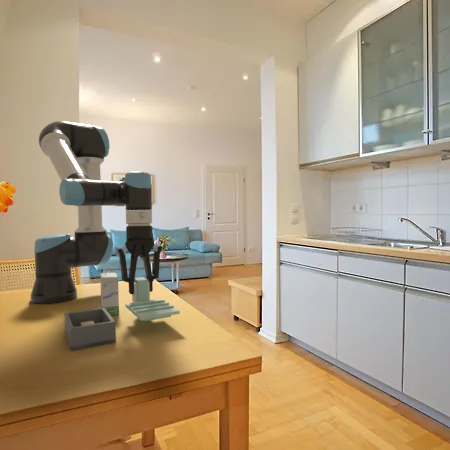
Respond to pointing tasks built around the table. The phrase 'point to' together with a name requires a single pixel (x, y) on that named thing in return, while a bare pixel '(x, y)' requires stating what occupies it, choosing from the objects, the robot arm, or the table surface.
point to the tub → (89, 328)
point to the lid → (149, 304)
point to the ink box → (110, 293)
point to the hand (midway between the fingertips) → (141, 303)
